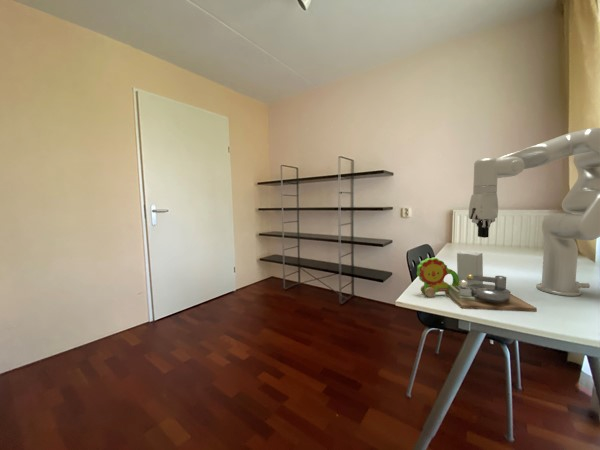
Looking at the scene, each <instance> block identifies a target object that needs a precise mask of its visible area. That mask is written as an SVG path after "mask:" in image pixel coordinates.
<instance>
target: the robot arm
mask: <svg viewBox="0 0 600 450" xmlns="http://www.w3.org/2000/svg"><path fill="white" fill-rule="evenodd" d="M571 156H573V164H574V166H575V168H576V170H577V179H576V181H575V183H574V184H572V187H571V188H570V190H569V191H568V192H567V193H566V195H565V197H564V198H563V200H562V202H561V208H562V210H563V211H564V212H566V213H564V212H563V213H561V212H560V213H558V212H557V213H552V214H549V215H547V216H546V217H544V219H543V220H542V222H541V231H542V234H543V257H542V260H543V261H542V273H541V277H542V278H541V283H537V284H536V289H538V290H540V291H542V292H545V293H548V294H553V295H556V296H557V295H558V296H564V297H577V296H578V297H579V296H580V295H582V293H581V291H582V290H581V291H580V289H581V288H582V289H590V287H591V285H590V284H589V283H587V282H582V283H580V281H577V268H578V256H579V254H578V253H579V248H578V245H577V243H576V240H579V241H594V240H597V239H599V238H600V127H589V128H584V129H581V130H577V131H573V132H569V133H566V134H562V135H560V136H557V137H554V138H551V139H549V140H546V141H543V142H540V143H538V144H534V145H531V146H528V147H526V148H523V149H521V150H518V151H515V152H512V153H508V154H507V155H503V156H500V157H498V158H495V157H494V158H493V157H486V158H480V159H476V161H474V163H473V188H472V190H473V192H472V195H471V197H470V202H469V207H468V219H469V220H471V223H474V224H475V225H476V227H477V237H478V238H484V239H485V238H489V229H490V227H491V224H492V223H494V222H496V219H497V218H498V215H499V201H498V179H501V178H511V177H516V176H518V175H519V174H521V173H522V172H523V171H524V170H527V169H534V168H538V167H542V166H546V165H549V164H551V163H555V162H556V161H560V160H562V159H565V158H568V157H571Z"/></svg>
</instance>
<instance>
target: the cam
mask: <svg viewBox="0 0 600 450" xmlns="http://www.w3.org/2000/svg"><path fill="white" fill-rule="evenodd" d="M467 279H468V280H476V281H483V284H472V285H470V287H469V288H470V289H471V290H472V296H474V297H476V298H479V299H483V300H488V301H494V302H506V301H509V300H510V294H512V293H511V291H510V290H509V289H508V288H507V277H506V276H504V275H495V277H494V276H493V277H491V276H484V275H483V276H476V275H471V274H468V275H467ZM486 283H487V284H486ZM488 283H493V284H488Z"/></svg>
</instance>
